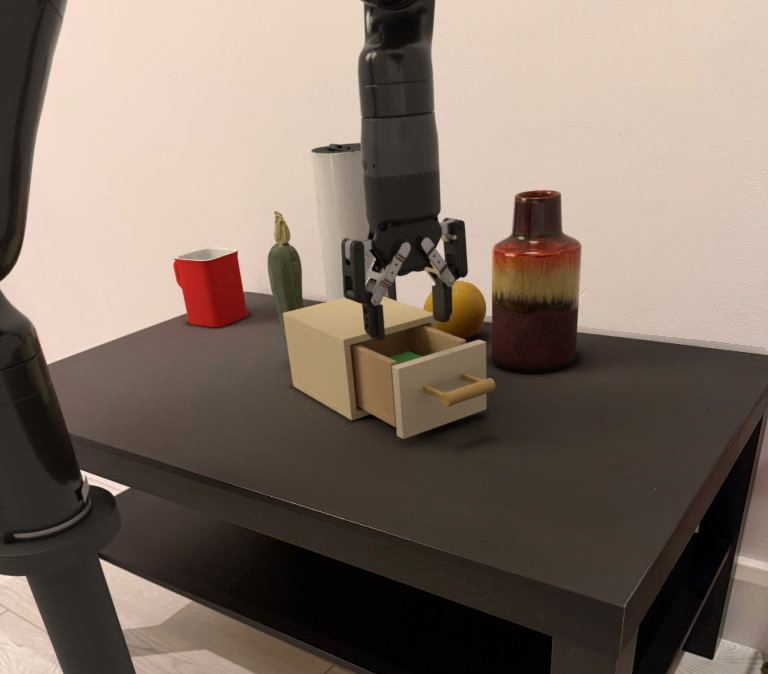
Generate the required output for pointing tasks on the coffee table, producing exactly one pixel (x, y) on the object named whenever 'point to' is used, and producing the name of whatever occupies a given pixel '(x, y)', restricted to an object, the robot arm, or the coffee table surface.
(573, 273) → the vase
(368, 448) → the coffee table surface
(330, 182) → the speaker
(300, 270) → the vegetable
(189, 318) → the mug
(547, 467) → the coffee table surface
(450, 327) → the fruit
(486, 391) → the drawer
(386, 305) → the cabinet
